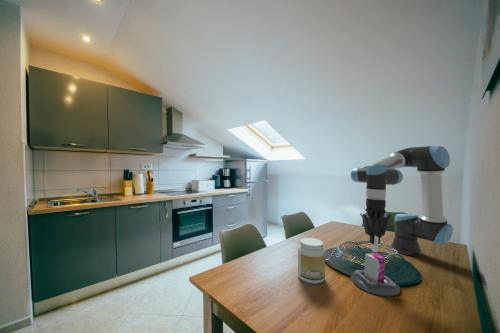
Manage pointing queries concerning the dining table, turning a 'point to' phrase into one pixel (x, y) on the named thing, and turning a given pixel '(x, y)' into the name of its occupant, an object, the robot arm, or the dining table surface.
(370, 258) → the supplement box
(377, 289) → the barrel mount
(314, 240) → the supplement tub
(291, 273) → the dining table surface
